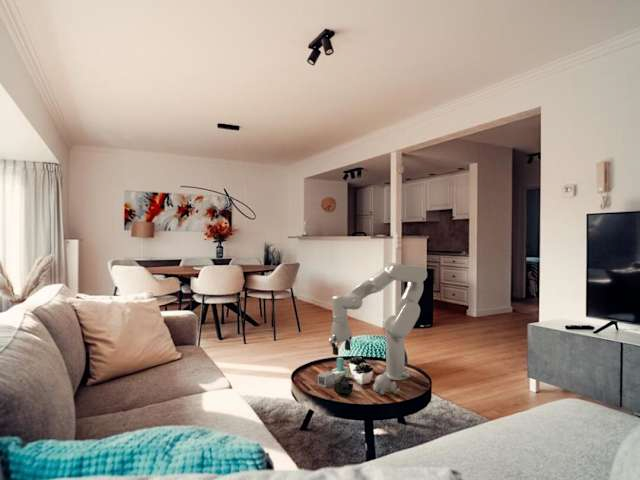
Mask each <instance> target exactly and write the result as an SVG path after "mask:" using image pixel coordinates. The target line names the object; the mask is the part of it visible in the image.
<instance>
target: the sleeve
mask: <svg viewBox="0 0 640 480" xmlns="http://www.w3.org/2000/svg"><path fill="white" fill-rule="evenodd" d="M335 383H336V380H335V373H332V371H329V370H326V371H324V372H321V373H318V374H317V386H320V387H323V388H324V389H325V388H328V387H331V386H334V384H335Z"/></svg>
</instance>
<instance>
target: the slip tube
mask: <svg viewBox="0 0 640 480" xmlns="http://www.w3.org/2000/svg"><path fill="white" fill-rule="evenodd" d="M336 368H337V371H335V372H332V371H331V372H332V373H335V381H337V379H339V378H340V372H342V371H344V358H343V357H337V358H336Z"/></svg>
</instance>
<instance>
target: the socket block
mask: <svg viewBox="0 0 640 480" xmlns="http://www.w3.org/2000/svg"><path fill="white" fill-rule="evenodd" d="M350 370H351V369H350V367H348V366H344V371H342V372H340V377H341V376H342V375H345V377H350V376H351V371H350ZM335 371H337V367H336V368H333V369H331V372H335ZM337 380H338V379H337ZM337 380H336V381H337Z"/></svg>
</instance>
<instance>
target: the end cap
mask: <svg viewBox="0 0 640 480" xmlns="http://www.w3.org/2000/svg"><path fill="white" fill-rule="evenodd" d="M351 382H354V377H345V375H342V376H341V377H340V378H339V379H338V380H335V384H333V385H332V386H333V389H332V390H333V391H334V393H335V394H336V395H338V396H339V397H343V398H344V397H345V398H349V397H350V396H351V394H352V392H353V391H354V383H351Z"/></svg>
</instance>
